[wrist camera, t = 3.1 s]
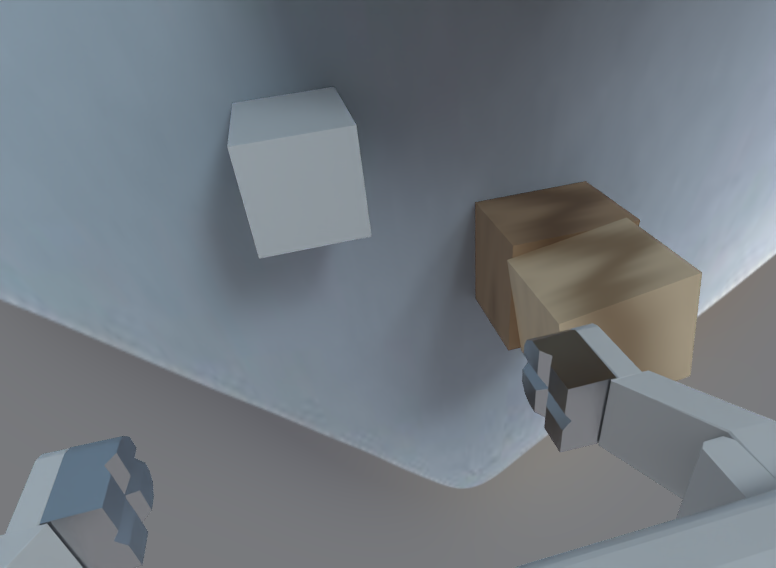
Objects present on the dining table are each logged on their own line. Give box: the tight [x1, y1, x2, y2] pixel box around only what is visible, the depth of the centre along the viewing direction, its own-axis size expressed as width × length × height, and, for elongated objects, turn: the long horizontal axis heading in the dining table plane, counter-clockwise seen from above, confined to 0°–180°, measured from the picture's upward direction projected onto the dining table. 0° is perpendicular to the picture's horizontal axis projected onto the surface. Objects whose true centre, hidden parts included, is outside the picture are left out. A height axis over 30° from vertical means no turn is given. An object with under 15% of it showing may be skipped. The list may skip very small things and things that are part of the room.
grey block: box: [227, 87, 372, 259], centre depth 22 cm, size 4×4×6 cm
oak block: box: [507, 217, 702, 381], centre depth 24 cm, size 6×6×5 cm
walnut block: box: [475, 181, 640, 350], centre depth 28 cm, size 6×6×5 cm
